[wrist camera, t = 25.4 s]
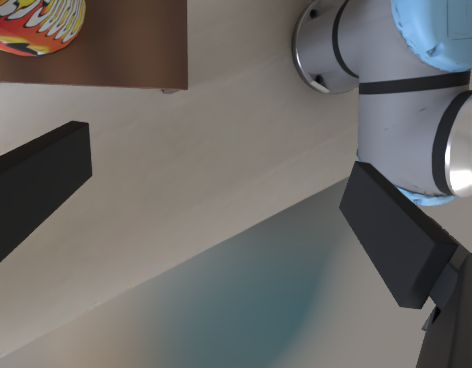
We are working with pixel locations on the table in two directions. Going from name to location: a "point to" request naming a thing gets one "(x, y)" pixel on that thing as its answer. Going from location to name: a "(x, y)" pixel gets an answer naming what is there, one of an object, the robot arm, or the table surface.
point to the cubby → (115, 49)
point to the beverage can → (39, 25)
